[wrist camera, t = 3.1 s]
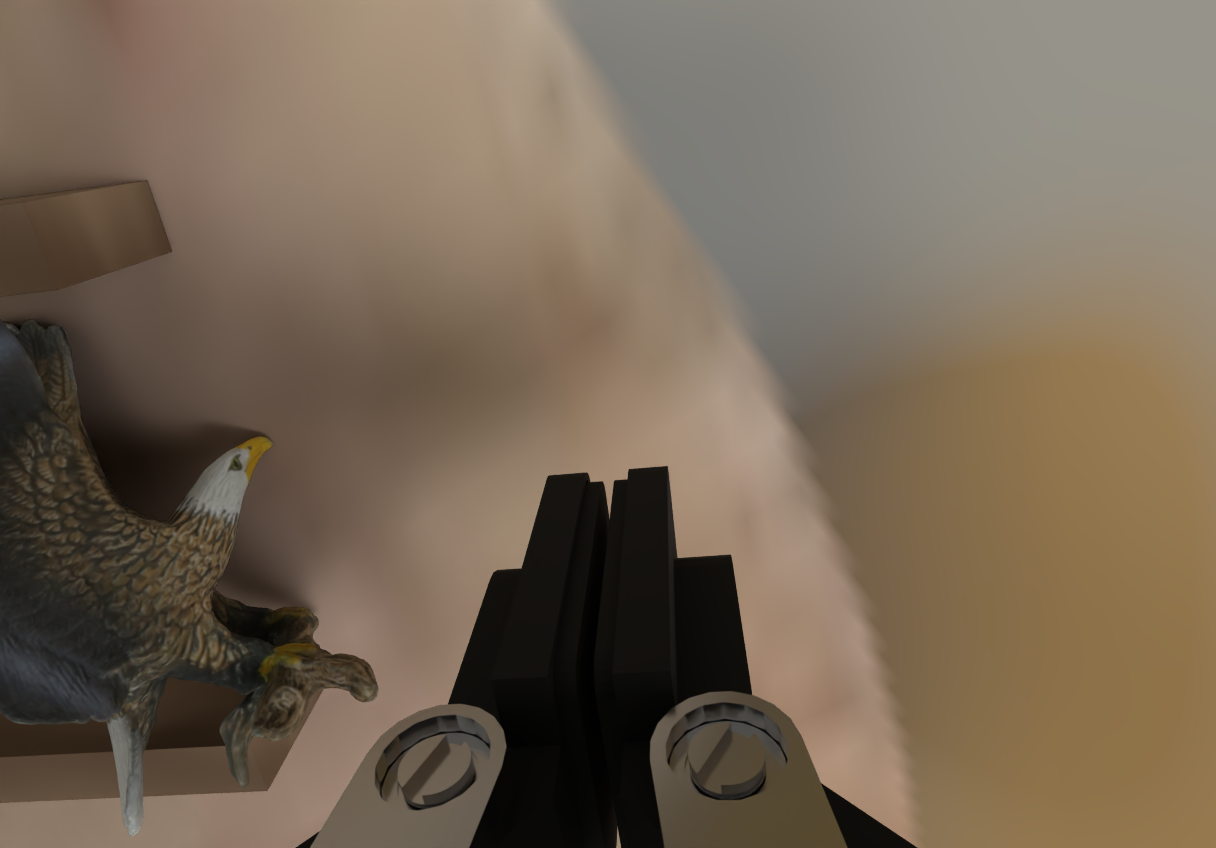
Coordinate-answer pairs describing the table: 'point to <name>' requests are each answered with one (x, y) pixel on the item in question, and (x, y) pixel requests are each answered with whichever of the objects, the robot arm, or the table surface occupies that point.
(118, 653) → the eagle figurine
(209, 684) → the walnut guide
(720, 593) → the robot arm
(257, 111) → the table surface
